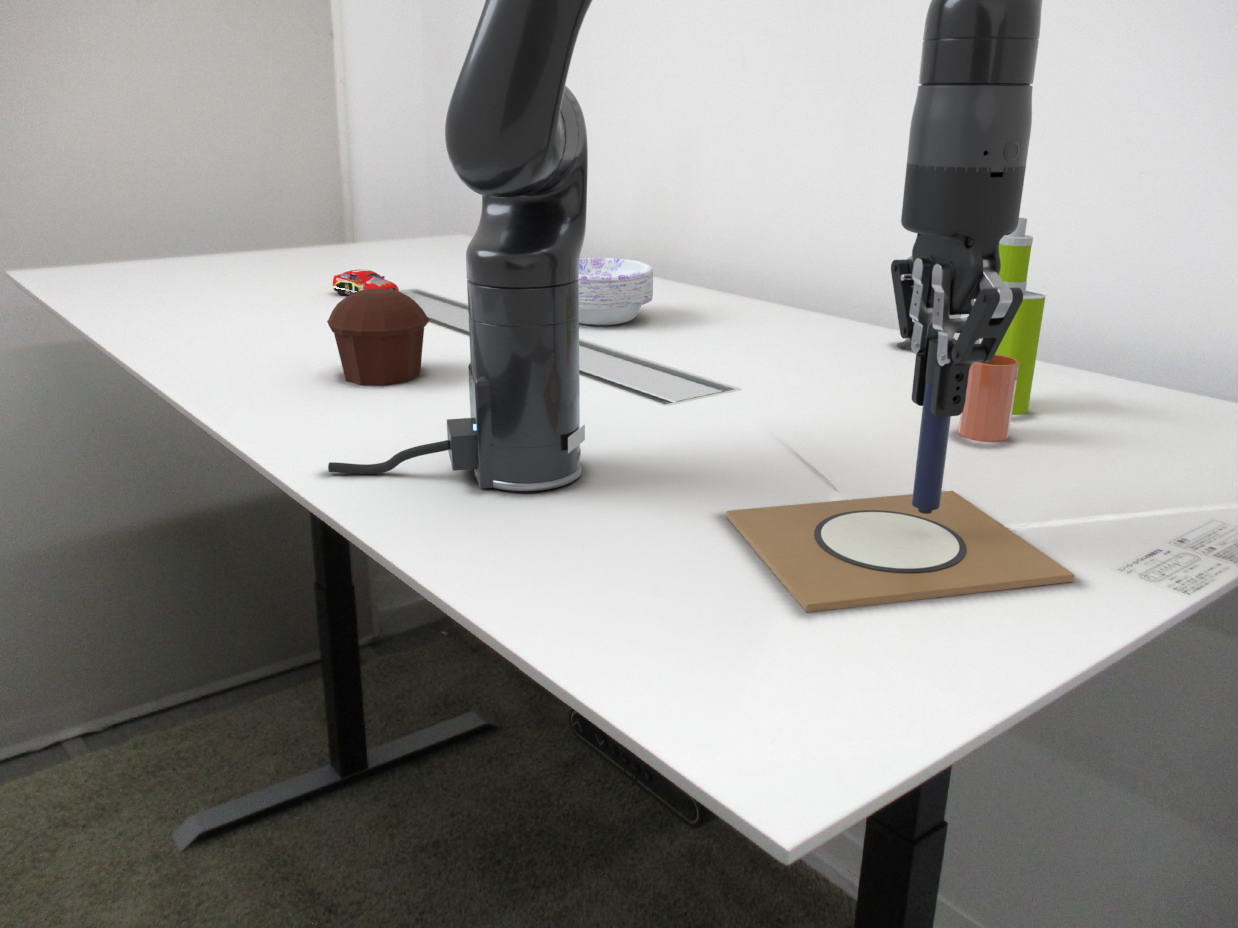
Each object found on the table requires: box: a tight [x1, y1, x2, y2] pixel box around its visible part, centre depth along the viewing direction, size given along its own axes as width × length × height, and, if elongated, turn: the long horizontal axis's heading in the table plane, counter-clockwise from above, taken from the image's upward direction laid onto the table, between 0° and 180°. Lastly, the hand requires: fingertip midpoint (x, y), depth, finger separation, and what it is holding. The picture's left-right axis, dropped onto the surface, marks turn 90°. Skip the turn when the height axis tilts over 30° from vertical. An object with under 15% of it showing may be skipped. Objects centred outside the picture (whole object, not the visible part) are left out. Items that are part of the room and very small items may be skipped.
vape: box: [980, 217, 1046, 416], centre depth 104 cm, size 4×6×20 cm, turn 27°
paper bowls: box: [579, 257, 654, 326], centre depth 148 cm, size 15×15×8 cm
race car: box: [332, 269, 400, 296], centre depth 164 cm, size 13×5×4 cm, turn 50°
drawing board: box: [726, 490, 1075, 613], centre depth 75 cm, size 20×16×1 cm
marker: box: [912, 338, 957, 514], centre depth 73 cm, size 2×2×13 cm
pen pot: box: [957, 354, 1019, 443], centre depth 98 cm, size 5×5×8 cm
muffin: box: [326, 288, 430, 386], centre depth 118 cm, size 12×11×10 cm
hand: (936, 408), depth 72 cm, fingers closed on marker, 2 cm apart
